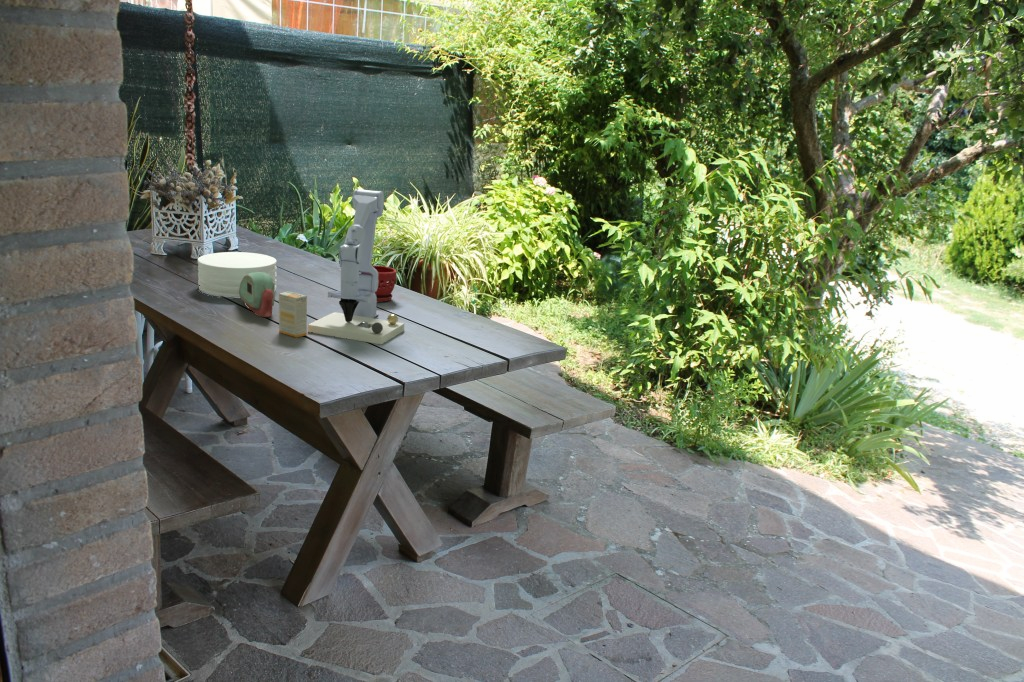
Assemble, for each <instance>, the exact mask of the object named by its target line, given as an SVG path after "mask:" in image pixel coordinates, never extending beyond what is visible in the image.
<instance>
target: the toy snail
mask: <svg viewBox="0 0 1024 682" xmlns="http://www.w3.org/2000/svg"><path fill="white" fill-rule="evenodd" d="M274 285H275V284H274V282H273V279H272V277H271V276H270V275H269V274H266V273H264V272H254V273H250V274H248V275H246V276H244V277H243V279H242V281H241V283H240V288H239V295H240V298H241V300H242V301H243V302H244V303H246V305H247V306H248V307H249V309H250V310H252V311H253V312H255V313H256V314H258V315H259V316H258V315H257V316H258V317H260V316H262V317H261V318H269V317H272V315H273V307H274V304H275V299H276V298H275V297H276V296H275V295H276V294H275V293H276V292H275V293H274ZM249 309H248V310H249ZM250 310H249V311H250ZM252 311H251V312H252ZM253 312H252V313H253ZM256 314H255V315H256Z"/></svg>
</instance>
